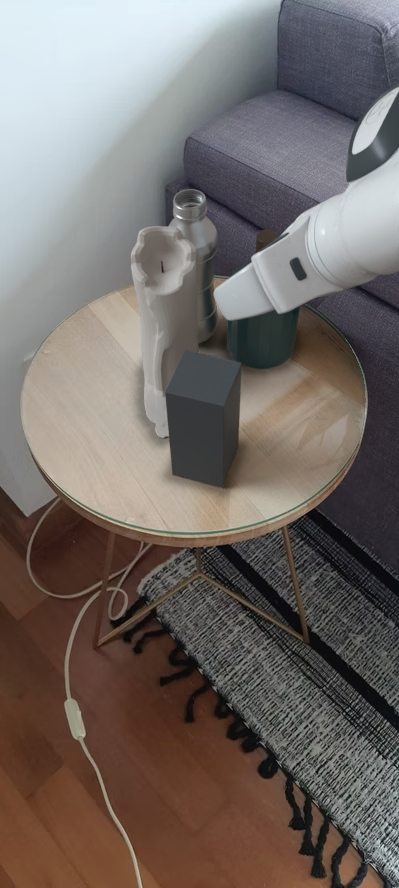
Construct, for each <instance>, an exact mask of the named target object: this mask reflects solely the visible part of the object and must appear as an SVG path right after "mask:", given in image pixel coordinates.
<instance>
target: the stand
mask: <svg viewBox="0 0 399 888" xmlns="http://www.w3.org/2000/svg"><path fill="white" fill-rule="evenodd" d="M242 366H243V365H242V363H241V362H237V361H236V360H232V359H228V358H227V359H226V358H223V357H218V356H214V355H209V354H204V353H201V352H199V353H196V352H192V351H187V350H185V352H184V354H183V356H182V358H181V360H180V362H179V364H178V366H177V368H176V370H175V372H174V374H173V376H172V379H171V381H170V383H169V385H168V387H167V389H166V391H165V397H166V408H167V420H168V431H169V436H168V440H169V453H170V465H171V474H172V476H176V477H180V478H182V479H187V480H190V481H194V482H198V483H202V484H206V485H210V486H213V487H217V488H221V489H223V488H224V487H225V484H226V483H227V482H226V481H227V479H228V477H229V475H230V474H229V473H230V470H231V468H232V466H233V464H234V460H235V457H236V456H237V455H236V454H237V452H238V450H239V439H240V415H241V391H242V389H241V388H242V368H243V367H242Z"/></svg>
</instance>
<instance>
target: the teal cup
mask: <svg viewBox="0 0 399 888" xmlns="http://www.w3.org/2000/svg"><path fill="white" fill-rule="evenodd" d="M251 262H252V261H250V262H246V263H244V264H242V265H240V266H238V267H237V268H235V269H234V270H233V271H232V272H231V273H230V275H229V277H228V279H229V278H230V277H231V276H233V275H234V274H236V273H237V272H239V271H240V270H241V269H243V268H244V267H246V266H247V265H248V264H250V263H251ZM300 309H301V306H300V307H298V308H296V309H294V310H291V311H289V312H287V313H283V314H278V313H277V311H276V310H273V311H270V312H267V313H265V314H261V315H258V316H254V317H250V318H245V319H240V320H235V321H229V320H227V319H226V348H227V351H228V353H229V355H230V356H231V358H232V359H233V360H234V361H236V362H241V363H242V366H245V367H247V368H251V369H255V370H267V369H273V368H276V367H280V366H281V365H283V364H284V363H286V362H288V361H289V359H290V358H291V357H292V356H293V354H294V352H295V348H296V346H295V345H296V342H297V333H298V327H299V317H300Z"/></svg>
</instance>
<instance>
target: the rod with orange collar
mask: <svg viewBox="0 0 399 888" xmlns="http://www.w3.org/2000/svg"><path fill="white" fill-rule="evenodd" d="M255 237H256V239H255V254H256V253H258V252H259V250H261V249H263V248H264V247H266V246H267V245H269V244H270V243H271V242H273V241H274V240H275V239H277V238H278V237H279V234H278V232H276V231H274V230H272V229H262V230H260V231H258V232H257V233H256V236H255Z"/></svg>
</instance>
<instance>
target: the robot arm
mask: <svg viewBox="0 0 399 888" xmlns="http://www.w3.org/2000/svg"><path fill="white" fill-rule="evenodd" d="M347 149H348V150H347V157H346V166H345V168H346V169H345V178H346V183H348V186H347V187H346V189H345V190H344V192H342V193H338V194H336V195H333V196H331V197H330V198H327V199H326V200H323V201H322V202H319V203H317V204H316V205H314V206H312V207H310V208H309V209H307V210H305V211H303V212H301V214H300V215H298V217H297V218H296V219H295V220H294V221H293V222H292V223H291V224H290V225H289V226H288V227H287V228H286V229H285V230H284V231H283V233H281V235H279V236H278V238H277V239H275V240H274V241H273V242H271V243H270V244H269V245H267V246H266V247H264V248H263V249H261V250H259V252H258V253H256V252H255V253H254V254H252V256H250V260H251V261H250V262H251V263H250V262H249V263H250V264H248V265H247V266H246V267H244V268H243V269H241V270H240V271H239V272H237V273H236V274H234V275H233V276H231V277H230V276H229V277H230V278H229V277H228V278H227V279H226V280H224V281H223V282H221V283H220V284H219V285H218V286H216V287H215V288H214V298H215V302H216V305H217V308H218V309H219V311H220V313H221V314H222V315H223V317H224V318H225V319H226V321H227V320H229V321H235V320H240V319H245V318H250V317H254V316H258V315H261V314H265V313H267V312H270V311H273V310H276V311H277V313H278V314H283V313H287V312H289V311H291V310H294V309H296V308H298V307H300V308H301V307H303V306H304V305H306V304H309V303H311V302H312V301H315V300H316V299H319V298H324V297H327V296H331V295H335V294H338V293H340V292H342V291H346V290H349V289H352V288H355V287H357V286H358V287H359V286H361V285H363V284H367V283H368V282H369V283H370V282H371V281H373V280H374V279H376V278H377V277H378V276H382V275H383V276H384V275H385V276H386V275H388V276H389V275H393V274H397V273H399V82H398V83H395V84H394V85H392V86H391V87H390V88H388V89H386V90H385V91H384V92H383V93H382V94H381V95H379V96H378V97H377V98H376V99H375V100H374V101H373V102H372V103H371V104H370V105H369V106H368V107H367V108H366V109H365V110H364V111H363V113H362V114H361V116H360V117H359V119H358V120H357V122H356V125H355V126H354V128H353V130H352V133H351V136H350V139H349V144H348V148H347Z"/></svg>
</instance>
